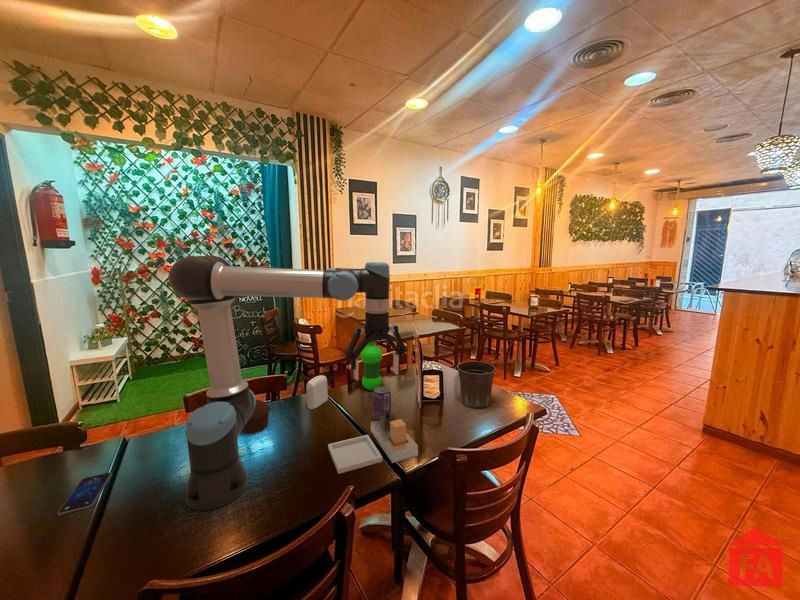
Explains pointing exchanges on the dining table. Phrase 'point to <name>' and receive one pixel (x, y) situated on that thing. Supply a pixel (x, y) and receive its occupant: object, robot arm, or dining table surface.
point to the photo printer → (316, 391)
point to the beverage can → (381, 402)
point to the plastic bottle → (371, 366)
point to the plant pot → (476, 383)
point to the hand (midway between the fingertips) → (376, 375)
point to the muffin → (258, 418)
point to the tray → (354, 453)
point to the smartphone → (85, 494)
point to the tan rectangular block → (397, 432)
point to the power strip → (383, 437)
